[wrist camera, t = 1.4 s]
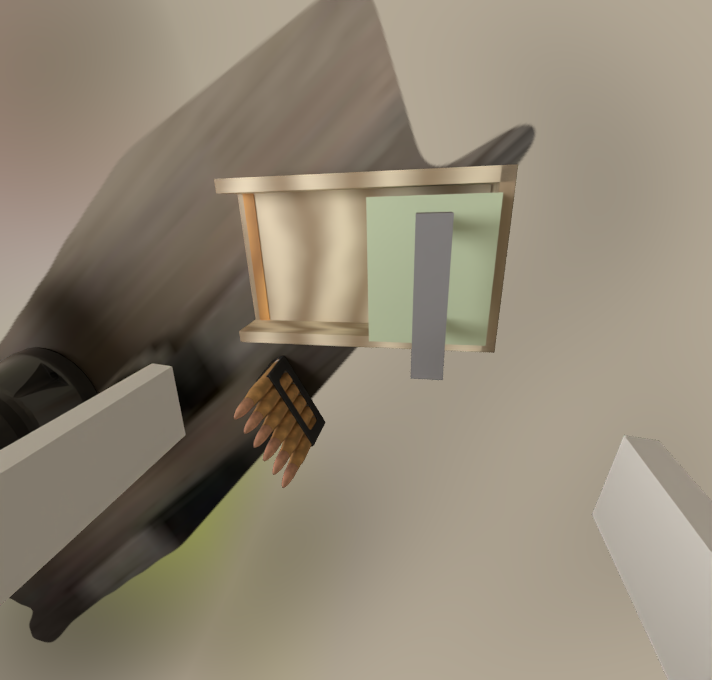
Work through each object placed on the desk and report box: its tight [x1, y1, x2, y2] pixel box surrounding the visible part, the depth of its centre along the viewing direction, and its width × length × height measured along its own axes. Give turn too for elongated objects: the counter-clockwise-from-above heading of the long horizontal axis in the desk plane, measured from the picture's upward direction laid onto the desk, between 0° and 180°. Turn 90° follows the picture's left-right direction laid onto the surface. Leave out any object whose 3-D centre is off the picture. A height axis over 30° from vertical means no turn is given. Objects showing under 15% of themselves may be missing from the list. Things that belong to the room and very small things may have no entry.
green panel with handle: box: [366, 192, 503, 380], centre depth 28 cm, size 10×12×16 cm
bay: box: [214, 164, 518, 353], centre depth 35 cm, size 26×16×5 cm, turn 92°
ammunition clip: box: [234, 356, 325, 488], centre depth 40 cm, size 11×2×12 cm, turn 28°
